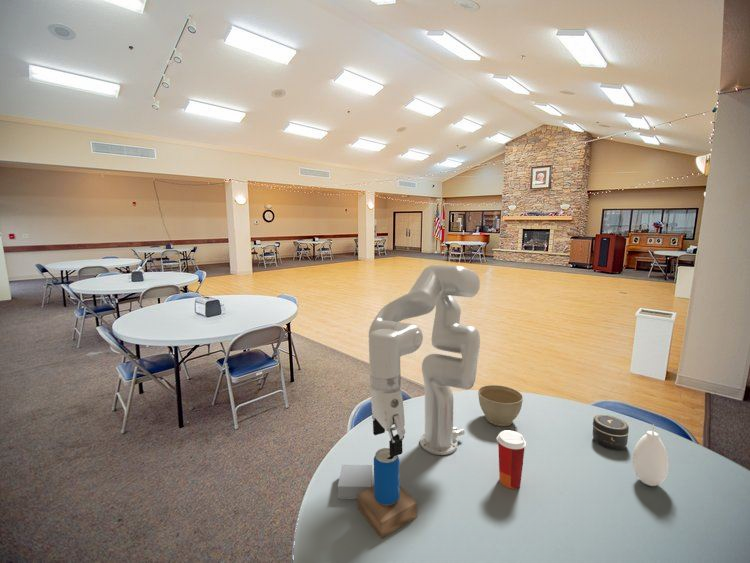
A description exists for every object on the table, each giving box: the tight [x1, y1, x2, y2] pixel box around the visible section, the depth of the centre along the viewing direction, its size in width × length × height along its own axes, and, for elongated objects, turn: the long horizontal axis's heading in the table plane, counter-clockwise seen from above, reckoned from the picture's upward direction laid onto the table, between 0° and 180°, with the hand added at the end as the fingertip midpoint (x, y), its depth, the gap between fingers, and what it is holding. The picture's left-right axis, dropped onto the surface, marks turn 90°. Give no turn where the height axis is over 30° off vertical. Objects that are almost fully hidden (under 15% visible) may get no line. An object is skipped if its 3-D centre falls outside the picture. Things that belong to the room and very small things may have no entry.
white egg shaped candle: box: [631, 423, 670, 487], centre depth 96 cm, size 8×8×18 cm
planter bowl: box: [477, 384, 524, 427], centre depth 131 cm, size 16×16×11 cm
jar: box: [592, 414, 630, 451], centre depth 116 cm, size 10×10×8 cm
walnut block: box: [356, 485, 418, 539], centre depth 88 cm, size 11×11×4 cm
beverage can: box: [373, 447, 400, 505], centre depth 87 cm, size 6×6×12 cm
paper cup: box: [496, 429, 527, 490], centre depth 97 cm, size 8×8×14 cm
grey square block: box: [337, 464, 373, 500], centre depth 97 cm, size 9×9×4 cm
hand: (387, 443), depth 86 cm, fingers open, 9 cm apart
